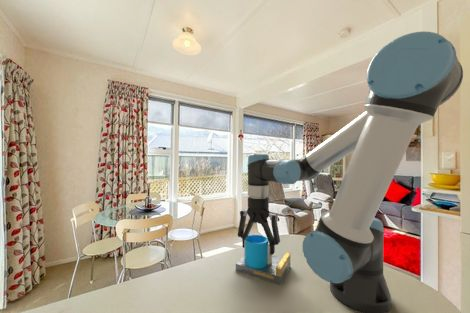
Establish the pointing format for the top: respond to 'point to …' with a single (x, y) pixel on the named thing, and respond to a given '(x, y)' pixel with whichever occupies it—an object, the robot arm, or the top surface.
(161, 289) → the top surface
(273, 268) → the ledge
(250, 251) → the mug
